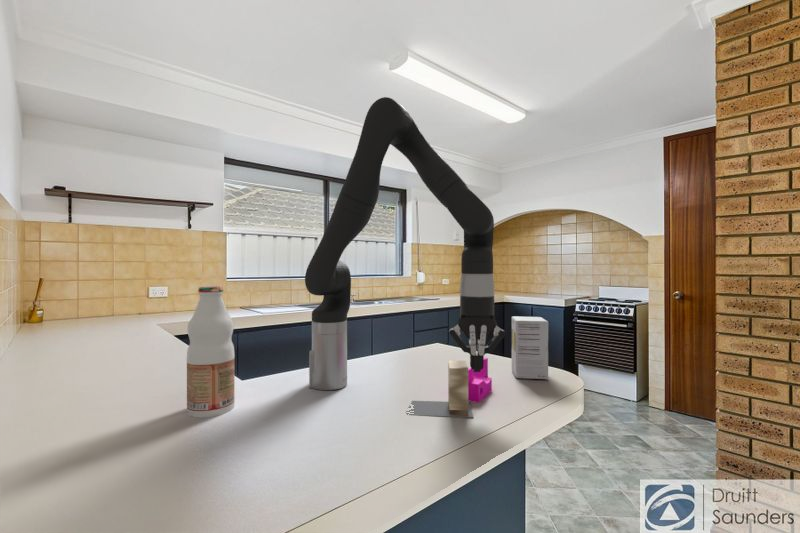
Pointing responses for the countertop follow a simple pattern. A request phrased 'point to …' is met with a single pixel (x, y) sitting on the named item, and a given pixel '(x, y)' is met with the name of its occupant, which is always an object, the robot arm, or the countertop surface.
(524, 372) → the supplement box
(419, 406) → the mat
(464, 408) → the ash block
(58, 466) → the countertop surface
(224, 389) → the fruit juice
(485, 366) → the toy block
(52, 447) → the countertop surface
